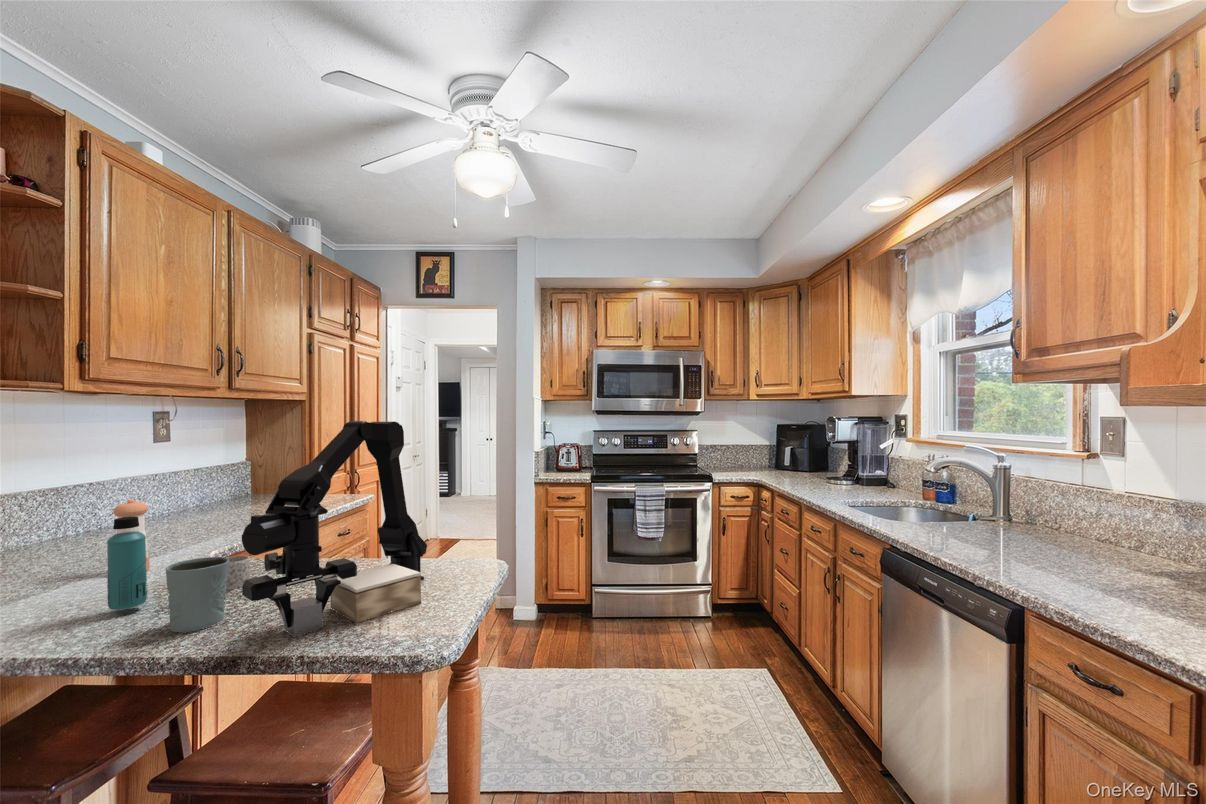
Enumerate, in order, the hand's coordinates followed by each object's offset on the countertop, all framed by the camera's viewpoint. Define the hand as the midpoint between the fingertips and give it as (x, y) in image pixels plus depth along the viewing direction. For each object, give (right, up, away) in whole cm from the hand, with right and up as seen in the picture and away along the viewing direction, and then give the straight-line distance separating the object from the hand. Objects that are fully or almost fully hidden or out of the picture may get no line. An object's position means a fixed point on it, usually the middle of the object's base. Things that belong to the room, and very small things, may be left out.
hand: (303, 622), depth 104 cm
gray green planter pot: (-23, -2, +4) cm, 23 cm away
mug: (-32, -2, +25) cm, 40 cm away
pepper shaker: (-68, -3, +40) cm, 78 cm away
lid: (+9, +5, +12) cm, 16 cm away
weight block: (0, -1, 0) cm, 1 cm away
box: (+9, -1, +12) cm, 15 cm away
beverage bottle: (-43, -2, +11) cm, 45 cm away
